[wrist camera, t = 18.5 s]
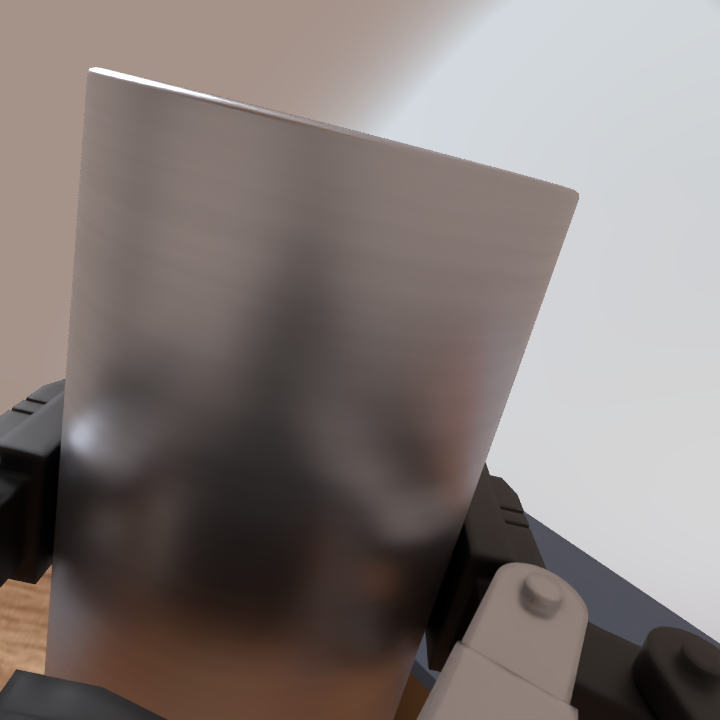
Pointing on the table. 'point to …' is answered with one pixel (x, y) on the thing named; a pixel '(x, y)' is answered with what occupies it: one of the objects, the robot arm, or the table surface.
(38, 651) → the table surface
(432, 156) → the cylinder
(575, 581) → the cabinet
